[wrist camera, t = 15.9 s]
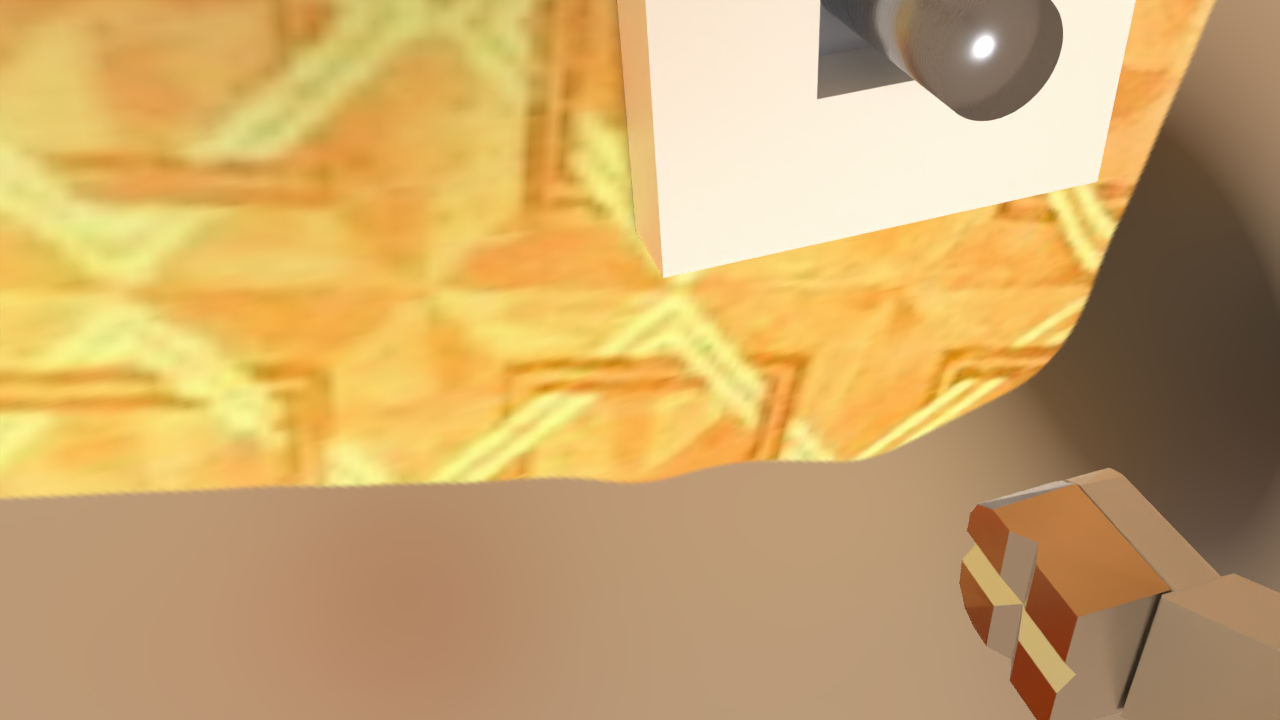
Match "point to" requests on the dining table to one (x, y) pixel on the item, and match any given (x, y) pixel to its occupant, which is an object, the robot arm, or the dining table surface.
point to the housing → (832, 128)
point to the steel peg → (964, 47)
